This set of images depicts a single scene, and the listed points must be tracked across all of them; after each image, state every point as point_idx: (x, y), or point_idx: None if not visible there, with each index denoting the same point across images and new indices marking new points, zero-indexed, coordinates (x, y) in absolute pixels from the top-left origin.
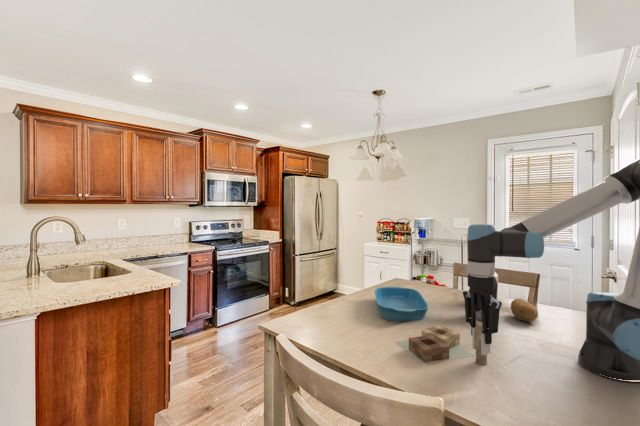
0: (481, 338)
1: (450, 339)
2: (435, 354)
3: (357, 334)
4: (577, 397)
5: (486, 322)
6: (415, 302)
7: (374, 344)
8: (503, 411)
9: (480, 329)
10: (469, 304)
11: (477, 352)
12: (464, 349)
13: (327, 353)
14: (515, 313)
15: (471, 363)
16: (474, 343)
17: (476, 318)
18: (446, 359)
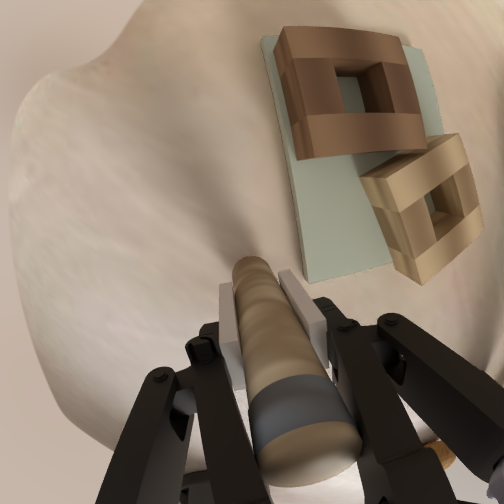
0: (230, 318)
1: (396, 221)
2: (289, 86)
3: (455, 13)
4: (106, 401)
5: (201, 420)
6: None
7: (412, 8)
8: (28, 199)
9: (250, 350)
10: (464, 421)
11: (251, 273)
12: (359, 267)
13: None
14: (434, 447)
15: (277, 248)
16: (284, 285)
17: (301, 389)
18: (292, 146)
